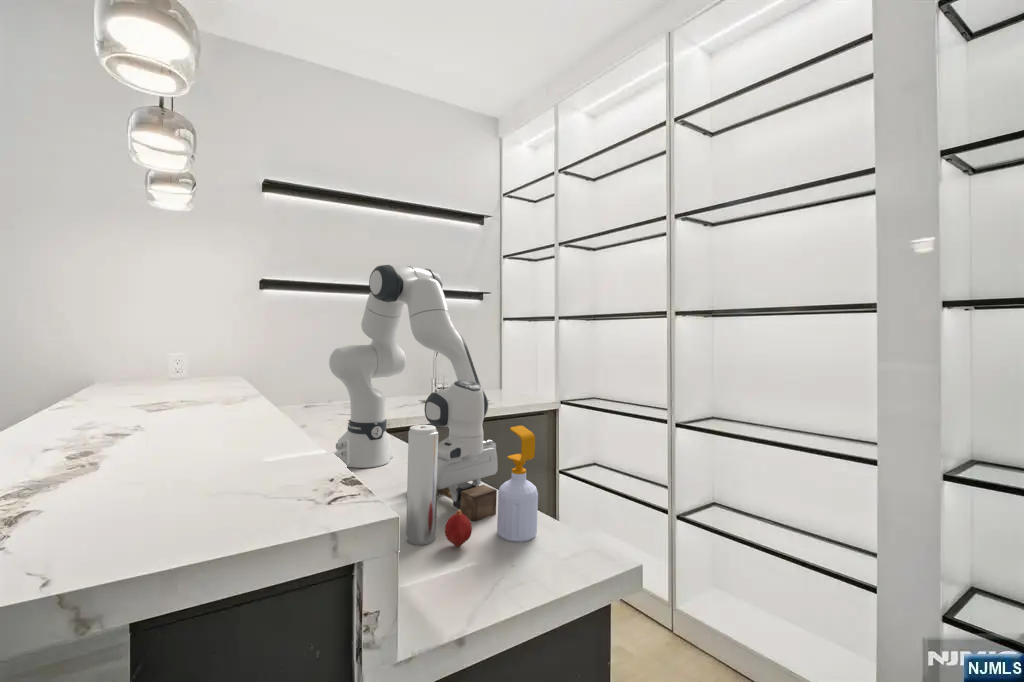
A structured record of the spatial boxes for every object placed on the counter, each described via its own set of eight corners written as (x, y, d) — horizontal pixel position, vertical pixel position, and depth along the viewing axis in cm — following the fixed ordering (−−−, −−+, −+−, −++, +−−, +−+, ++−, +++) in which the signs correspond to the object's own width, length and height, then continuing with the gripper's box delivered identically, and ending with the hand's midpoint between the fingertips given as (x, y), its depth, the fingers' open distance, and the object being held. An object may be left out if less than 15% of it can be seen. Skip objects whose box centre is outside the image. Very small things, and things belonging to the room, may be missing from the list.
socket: (460, 515, 119) (461, 491, 118) (482, 508, 124) (483, 484, 123) (473, 522, 115) (474, 497, 115) (495, 514, 120) (496, 490, 120)
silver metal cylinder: (429, 547, 102) (432, 431, 101) (400, 543, 103) (403, 428, 102) (439, 534, 108) (442, 424, 107) (413, 530, 109) (415, 422, 108)
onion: (441, 542, 104) (442, 506, 104) (466, 538, 107) (467, 503, 106) (448, 554, 99) (449, 516, 99) (474, 550, 101) (476, 513, 101)
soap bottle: (516, 521, 116) (520, 421, 115) (544, 534, 110) (548, 428, 109) (488, 532, 110) (492, 426, 109) (517, 546, 103) (520, 434, 102)
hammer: (433, 496, 129) (434, 476, 129) (445, 493, 132) (446, 473, 132) (474, 516, 117) (475, 494, 117) (486, 512, 120) (487, 490, 120)
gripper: (487, 436, 132) (486, 485, 133) (426, 448, 118) (424, 504, 118) (503, 441, 128) (502, 492, 128) (441, 454, 113) (439, 511, 114)
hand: (464, 498), depth 123 cm, fingers closed on hammer, 4 cm apart
